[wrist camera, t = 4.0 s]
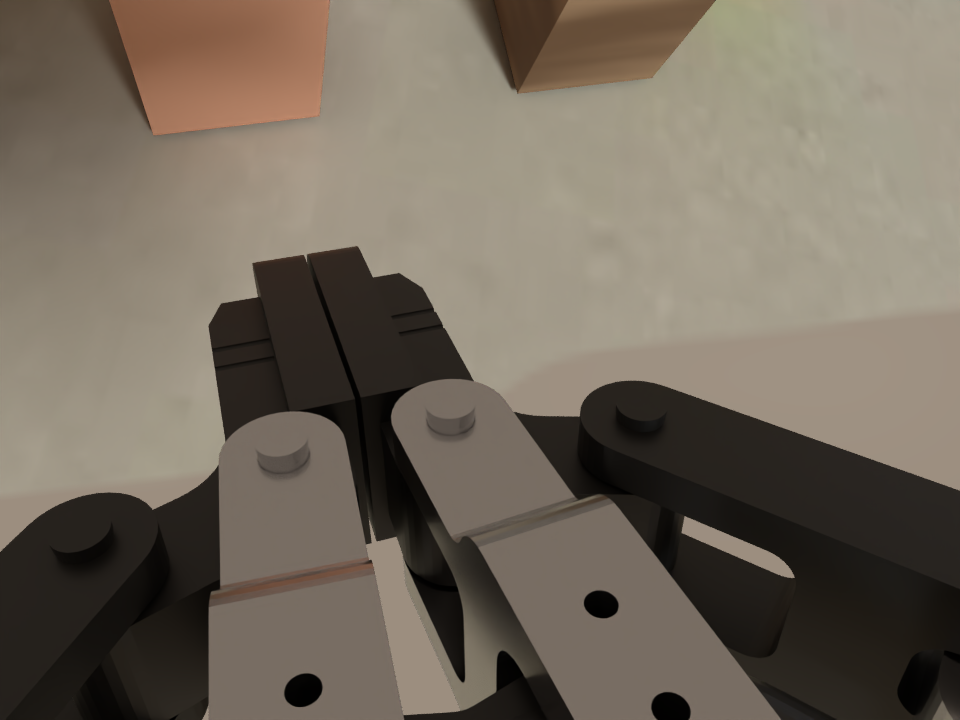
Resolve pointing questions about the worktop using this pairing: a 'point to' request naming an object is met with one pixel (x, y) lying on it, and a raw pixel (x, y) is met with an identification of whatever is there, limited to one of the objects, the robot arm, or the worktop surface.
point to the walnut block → (592, 39)
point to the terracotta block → (224, 60)
